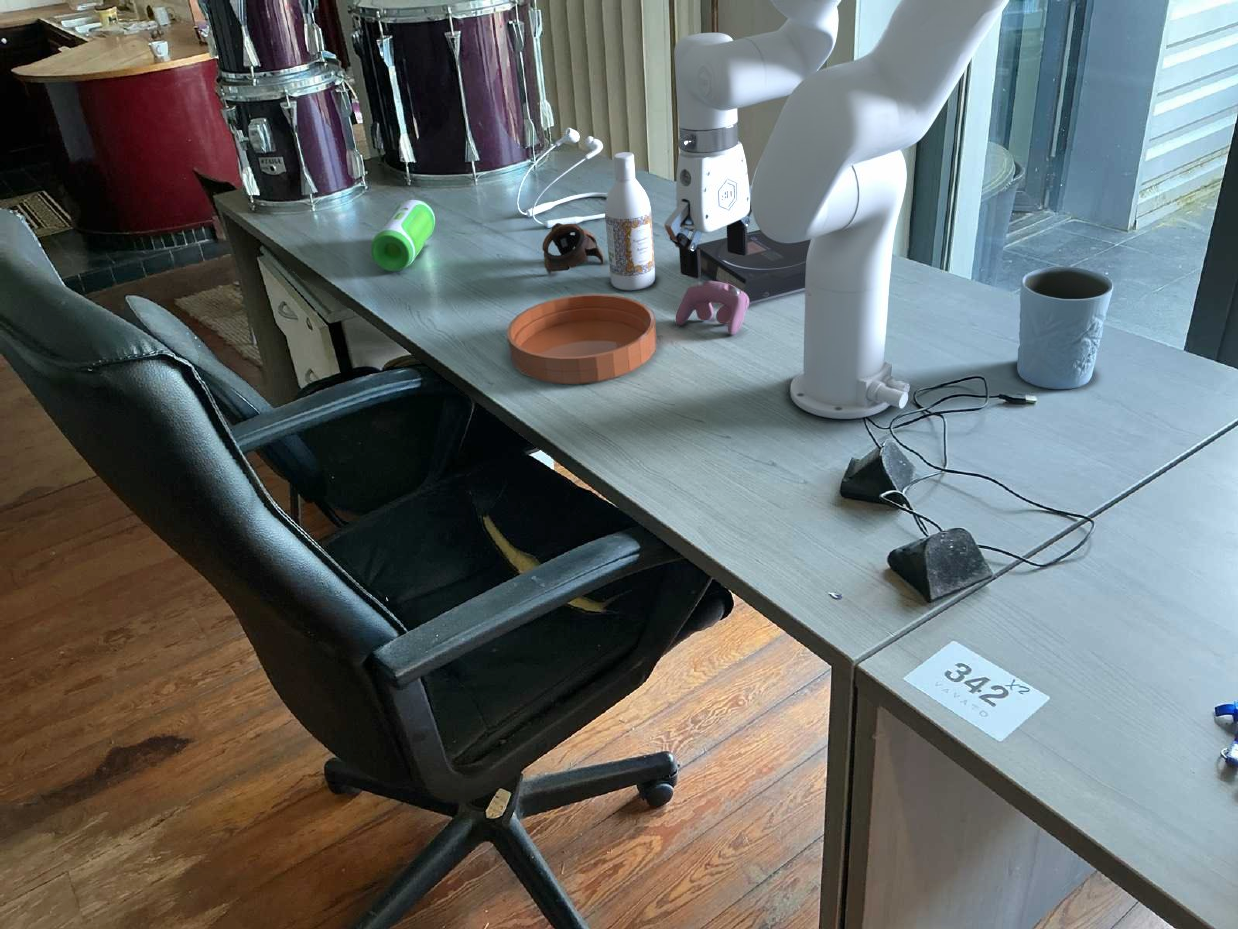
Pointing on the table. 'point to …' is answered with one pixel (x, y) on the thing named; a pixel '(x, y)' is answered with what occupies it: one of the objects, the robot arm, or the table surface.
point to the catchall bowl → (582, 338)
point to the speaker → (403, 235)
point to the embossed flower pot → (1061, 325)
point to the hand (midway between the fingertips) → (714, 264)
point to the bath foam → (629, 229)
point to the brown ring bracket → (569, 247)
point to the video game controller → (716, 292)
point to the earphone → (572, 137)
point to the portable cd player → (757, 266)
